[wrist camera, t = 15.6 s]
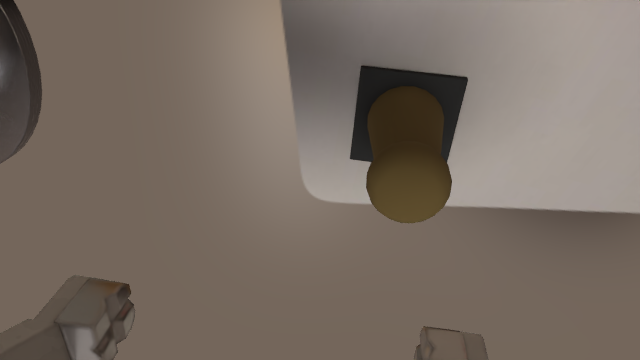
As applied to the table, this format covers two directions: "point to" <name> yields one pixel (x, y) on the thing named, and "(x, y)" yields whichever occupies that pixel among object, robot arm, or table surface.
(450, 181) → the cork
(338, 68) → the table surface
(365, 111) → the coaster
